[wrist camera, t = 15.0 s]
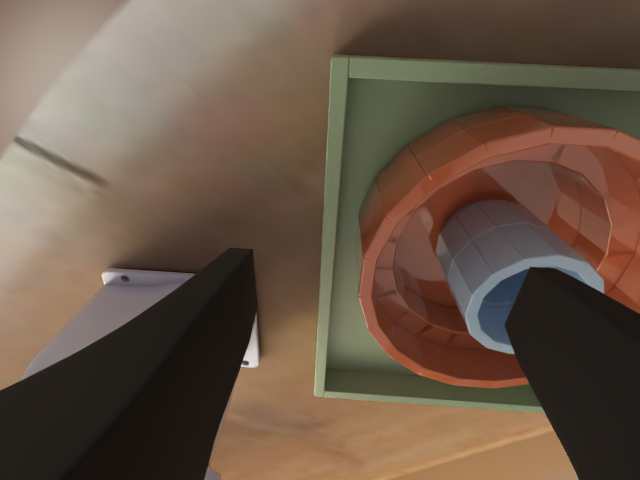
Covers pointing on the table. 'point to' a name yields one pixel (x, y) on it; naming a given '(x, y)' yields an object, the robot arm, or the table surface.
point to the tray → (378, 152)
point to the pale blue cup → (500, 263)
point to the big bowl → (482, 184)
